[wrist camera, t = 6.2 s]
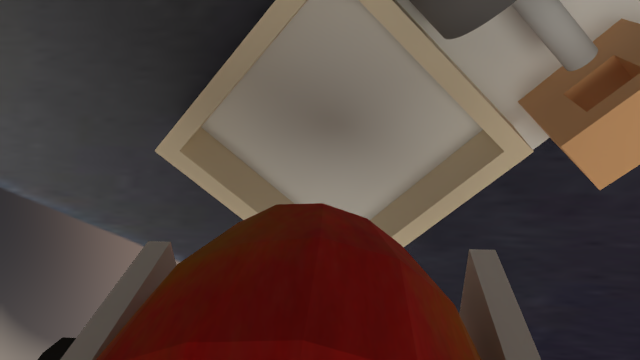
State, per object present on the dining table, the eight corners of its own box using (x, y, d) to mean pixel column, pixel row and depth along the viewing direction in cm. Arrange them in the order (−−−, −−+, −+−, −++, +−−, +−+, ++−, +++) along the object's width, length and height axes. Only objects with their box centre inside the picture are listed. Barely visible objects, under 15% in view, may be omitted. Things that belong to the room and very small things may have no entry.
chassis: (183, 122, 27) (131, 172, 21) (465, -225, 18) (513, -307, 12) (362, 267, 32) (361, 344, 26) (663, 43, 23) (771, 79, 17)
